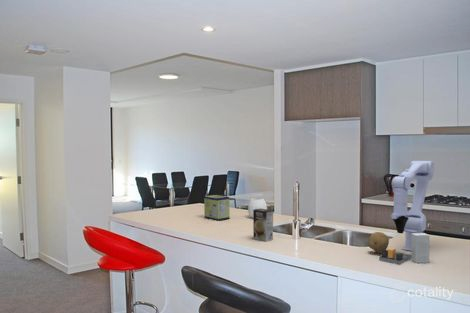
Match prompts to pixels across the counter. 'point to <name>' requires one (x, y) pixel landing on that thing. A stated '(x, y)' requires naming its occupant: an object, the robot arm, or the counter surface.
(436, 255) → the counter surface
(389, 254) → the block
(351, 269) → the counter surface
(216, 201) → the protein box
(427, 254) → the skincare box
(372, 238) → the natural sponge
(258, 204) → the cup
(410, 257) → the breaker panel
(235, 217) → the counter surface
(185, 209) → the counter surface
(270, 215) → the coffee box
